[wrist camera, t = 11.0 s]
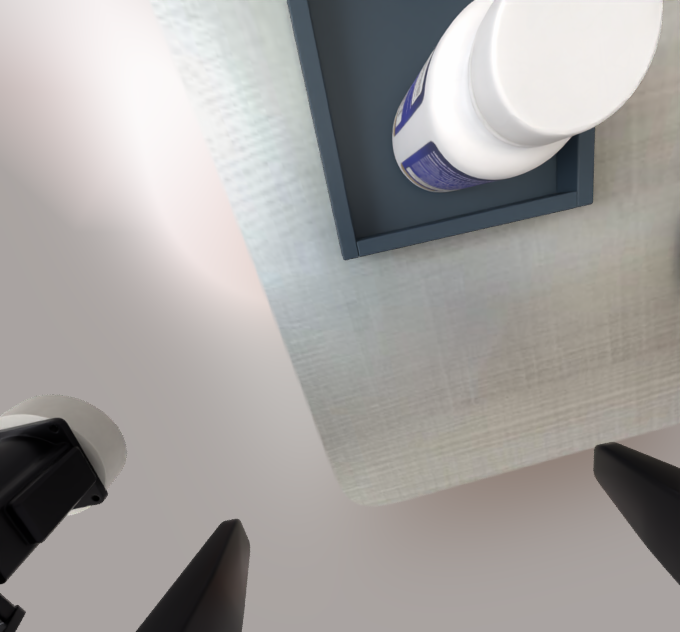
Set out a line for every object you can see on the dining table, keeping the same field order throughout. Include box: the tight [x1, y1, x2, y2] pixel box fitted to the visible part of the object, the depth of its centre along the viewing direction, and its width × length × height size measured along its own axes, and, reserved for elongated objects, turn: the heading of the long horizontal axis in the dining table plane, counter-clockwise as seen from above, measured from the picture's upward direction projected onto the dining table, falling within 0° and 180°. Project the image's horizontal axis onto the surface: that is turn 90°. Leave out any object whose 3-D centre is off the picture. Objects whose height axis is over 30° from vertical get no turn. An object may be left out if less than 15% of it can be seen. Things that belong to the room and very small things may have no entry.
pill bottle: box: [392, 0, 663, 192], centre depth 11 cm, size 5×5×9 cm
